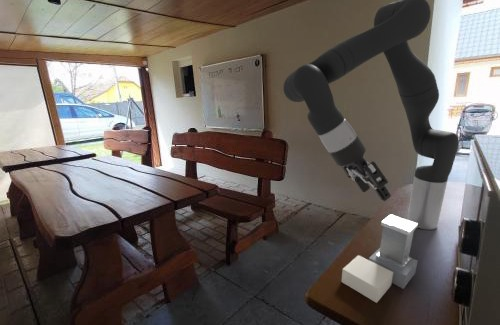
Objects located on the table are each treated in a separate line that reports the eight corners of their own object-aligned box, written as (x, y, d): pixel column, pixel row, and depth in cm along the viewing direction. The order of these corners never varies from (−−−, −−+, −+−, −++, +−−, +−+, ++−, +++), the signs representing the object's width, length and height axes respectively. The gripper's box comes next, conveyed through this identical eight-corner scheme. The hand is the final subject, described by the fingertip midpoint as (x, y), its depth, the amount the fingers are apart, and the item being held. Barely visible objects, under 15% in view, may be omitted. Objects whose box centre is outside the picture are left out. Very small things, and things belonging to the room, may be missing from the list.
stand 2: (380, 257, 76) (382, 245, 74) (415, 273, 69) (417, 260, 68) (367, 270, 71) (369, 257, 70) (403, 288, 64) (406, 275, 63)
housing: (385, 249, 73) (390, 214, 69) (410, 260, 68) (417, 223, 65) (376, 257, 69) (381, 221, 66) (402, 270, 65) (409, 232, 61)
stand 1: (356, 267, 72) (358, 255, 71) (391, 285, 65) (393, 272, 64) (341, 281, 67) (342, 268, 66) (376, 303, 60) (378, 289, 59)
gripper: (370, 133, 55) (408, 191, 58) (340, 132, 69) (371, 179, 72) (342, 154, 55) (381, 212, 58) (317, 149, 69) (349, 195, 72)
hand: (375, 194), depth 65 cm, fingers open, 8 cm apart
